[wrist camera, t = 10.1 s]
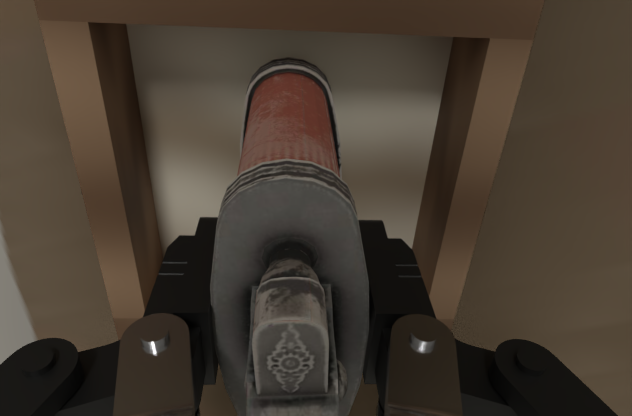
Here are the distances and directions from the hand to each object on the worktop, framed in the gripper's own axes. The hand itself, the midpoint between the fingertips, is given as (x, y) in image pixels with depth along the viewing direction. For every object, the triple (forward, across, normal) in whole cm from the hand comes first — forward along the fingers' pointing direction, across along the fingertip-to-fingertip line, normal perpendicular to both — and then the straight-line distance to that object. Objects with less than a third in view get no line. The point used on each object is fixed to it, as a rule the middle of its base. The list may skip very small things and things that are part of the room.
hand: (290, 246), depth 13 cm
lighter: (+4, 0, 0) cm, 4 cm away
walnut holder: (+6, 0, 0) cm, 6 cm away
